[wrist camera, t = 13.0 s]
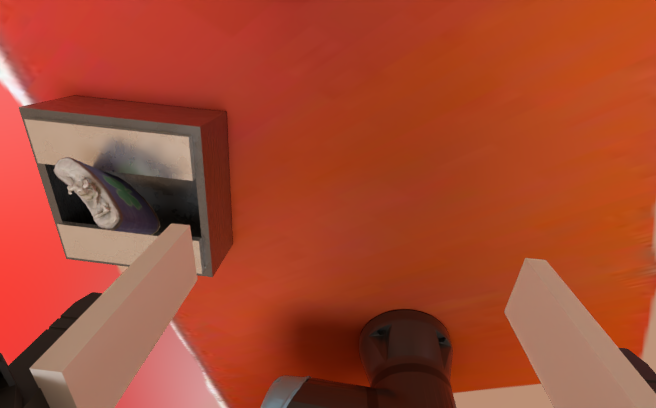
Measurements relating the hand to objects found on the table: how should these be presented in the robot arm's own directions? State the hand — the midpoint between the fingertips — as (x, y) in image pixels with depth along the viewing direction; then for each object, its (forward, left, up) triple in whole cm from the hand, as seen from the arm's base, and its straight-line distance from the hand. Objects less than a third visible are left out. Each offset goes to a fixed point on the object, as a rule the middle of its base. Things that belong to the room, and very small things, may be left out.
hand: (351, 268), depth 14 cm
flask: (-13, +26, -25) cm, 38 cm away
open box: (-12, +26, -32) cm, 43 cm away
